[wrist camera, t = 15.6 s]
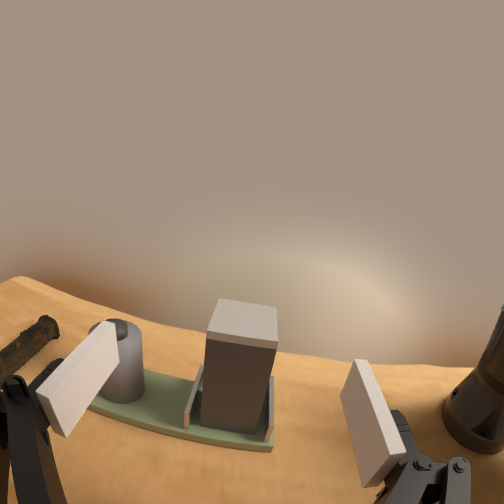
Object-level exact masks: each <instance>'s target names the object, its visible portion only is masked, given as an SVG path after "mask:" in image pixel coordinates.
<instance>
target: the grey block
mask: <svg viewBox="0 0 504 504" xmlns="http://www.w3.org/2000/svg"><path fill="white" fill-rule="evenodd" d="M277 346H278V325H277V310H276V307H273V306H266V305H259V304H253V303H246V302H240V301H234V300H227V299H221V298H219V300H218V303H217V305H216V308H215V311H214V313H213V316H212V319H211V322H210V324H209V327H208V329H207V336H206V347H205V359H204V372H203V385H202V399H201V415H200V427H206V428H211V429H217V430H223V431H229V432H236V433H243V434H251V435H255V433H256V429H257V426H258V422H259V418H260V414H261V411H262V407H263V403H264V399H265V395H266V391H267V387H268V383H269V379H270V375H271V371H272V367H273V363H274V358H275V354H276V350H277Z"/></svg>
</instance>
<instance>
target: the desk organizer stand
mask: <svg viewBox="0 0 504 504" xmlns="http://www.w3.org/2000/svg"><path fill="white" fill-rule="evenodd" d="M105 321H108V322H112V323H115V329H116V338H117V346H118V354H119V361H120V362H119V364H118V365H117V366H116V368H115V369H114V371H113V372H112V373H111V375H110V376H109V378H108V379H107V380H106V382H105V383H104V385H103V386H102V387H101V389H100V390H99V392H98V393H97V395H96V396H95V397H94V399H93V400H92V402H91V403H90V405H89V406H88V408H87V409H89V410H92V411H94V412H97V413H99V414H102V415H105V416H107V417H110V418H113V419H116V420H119V421H121V422H124V423H127V424H131V425H134V426H137V427H140V428H143V429H147V430H150V431H154V432H158V433H161V434H165V435H169V436H173V437H177V438H181V439H186V440H190V441H195V442H200V443H205V444H211V445H216V446H222V447H229V448H236V449H243V450H252V451H261V452H271V451H272V448H273V431H272V434H271V437H270V440H269V443H266V442H264V421H265V399H264V403H263V407H262V411H261V414H260V418H259V422H258V426H257V429H256V433H255V435H251V434H243V433H236V432H229V431H223V430H217V429H211V428H206V427H200V415H201V399H202V388H201V392H200V395H199V398H198V402H197V405H196V408H195V412H194V415H193V418H192V422H191V425H190V429H189V430H184V412H185V409H186V406H187V403H188V400H189V397H190V394H191V391H192V388H193V385H194V382H195V381H191V380H186V379H182V378H177V377H173V376H169V375H164V374H160V373H156V372H152V371H149V370H145V369H143V355H142V334H141V330H140V329H139V328H138V327H137V326H136V325H135V324H133V323H131V322H128V321H124V320H121V319H107V320H105ZM100 323H101V322H99V323H97V324H95V325H94V326H92V327H91V329H90V330H89V334H90V333H91V332H92V331H93V330H94V329H95V328H96V327H97V326H98V325H99V324H100Z"/></svg>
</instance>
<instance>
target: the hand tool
mask: <svg viewBox="0 0 504 504" xmlns="http://www.w3.org/2000/svg"><path fill="white" fill-rule="evenodd" d="M59 336H60V334H59V328H58V325H57V322H56V321H55V320H54V319H53V318H51V317H49V316H48V315H43V316H41V317H40V318H39V320H38V322H37V323H36V324H34V325H32V326H31V327H30V328H28V329H27V330H24V331H23V332H21V333H20V336H19V337H18V338H16V339H15V340H14V341H13V342H12V343H10V344H9V345H8V346H7V347H5V348H4V349H2V350H1V351H0V390H1V389H2V387H1V382H2V381H3V379H4V378H6V377H8V376H10V375H12V374H13V373H14V372H15V371H16V370H18V369H19V368H20V367H21V366H22V365H24V364H26V362H27V361H28V360H29V359H30V358H31V357H32V356H33V355H34V354H35V353H37V352H38V351H39V350H40V349H41V348H43V346H45V345H46V344H47V343H48V342H49V341H50V340H51V339H53V338H55V339H58V338H59Z"/></svg>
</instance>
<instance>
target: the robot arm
mask: <svg viewBox="0 0 504 504" xmlns="http://www.w3.org/2000/svg"><path fill="white" fill-rule="evenodd" d="M501 310H502V311H501V314H500V317H499V319H498V322H497V324H496V326H495V329H494V331H493V334H492V336H491V338H490V340H489V342H488V344H487V346H486V349H485V351H484V353H483V355H482V357H481V359H480V361H479V363H478V365H477V366H476V368H475V369H474V370H473V371H472V372H471V373H470V374H469V375H468V376H467V377H466V378H465V379H464V380H463V381H462V382H461V383H460V384H459V385H458V386H457V387H456V388H455V389H454V390H453V391H452V392H451V394H450V395H449V397H448V399H447V400H446V402H445V404H444V406H443V419H444V422H445V424H446V427H447V428H448V430H449V432H450V433H451V434H452V435H453V437H454V438H455V439H456V440H457V441H459V442H460V443H461V444H462V445H464V446H465V447H467V448H469V449H471V450H473V451H476V452H479V453H486V454H490V453H496V452H499V451H501V450H503V449H504V304H503V305H502V307H501ZM119 362H120V361H119V354H118V346H117V338H116V329H115V323H112V322H108V321H104V320H103V321H102V322H101V323H100V324H99V325H98V326H97V327H96V328H95V329H94V330H93V331H92V332H91V333H90V334H89V335H88V336H87V337H86V338H85V339H84V340H83V341H82V342H81V343H80V344H79V345H78V346H77V347H76V348H75V349H74V351H73V352H72V353H71V354H70V355H69V356H68V357H67V358H66V359H65V360H64V359H62V358H58V359H56V360H54V361H52V362H51V363H50V364H49V365H48V366H47V367H46V369H44V370H43V371H42V372H41V373H40V374H39V375H38V376H37V377H36V378H35V379H34V380H33V381H32V382H31V383H30V384H29V386H28V387H27V385H26V382H25V380H24V379H23V378H22V377H21V376H18V375H10V376H8V377H6V378H4V379H3V381H2V382H1V387H2V390H3V392H1V391H0V504H7V494H8V478H9V468H10V460H11V467H12V474H13V480H14V485H15V490H16V495H17V500H18V504H67V501H66V498H65V495H64V492H63V489H62V485H61V482H60V479H59V475H58V472H57V468H56V464H55V460H54V456H53V452H52V447H51V443H50V438H49V433H48V431H47V428H48V427H49V425H51V427H52V429H53V431H54V432H55V433H57V434H59V435H61V436H63V437H65V438H67V437H68V436H69V434H70V433H71V431H72V430H73V428H74V427H75V425H76V424H77V422H78V421H79V419H80V418H81V416H82V415H83V413H84V412H85V410H86V409H87V408H88V406H89V405H90V403H91V402H92V400H93V399H94V397H95V396H96V395H97V393H98V392H99V390H100V389H101V387H102V386H103V385H104V383H105V382H106V380H107V379H108V378H109V376H110V375H111V373H112V372H113V371H114V369H115V368H116V366H117V365H118V364H119ZM340 398H341V401H342V405H343V409H344V413H345V416H346V420H347V424H348V428H349V432H350V436H351V440H352V444H353V448H354V452H355V456H356V460H357V465H358V469H359V473H360V478H361V482H362V487H363V488H367V487H374V486H378V485H379V484H380V483H381V482H382V481H383V480H384V482H385V485H386V486H385V487H384V488H383V489H382V490H381V491H380V492H379V493H378V494H377V495H376V497H377V499H376V500H375V502H374V503H373V504H470V497H471V466H470V463H469V462H468V460H467V459H465V458H464V457H460V456H456V457H454V458H452V459H451V460H450V461H449V462H448V463H438V462H433V461H432V459H431V458H430V457H429V456H427V455H425V454H421V453H420V450H419V448H418V446H417V443H416V441H415V439H414V437H413V434H412V432H410V428H409V426H408V423H407V421H406V419H405V417H404V415H403V414H402V413H401V412H400V411H399V410H389V408H388V406H387V403H386V401H385V399H384V396H383V394H382V392H381V390H380V387H379V385H378V383H377V381H376V378H375V376H374V374H373V372H372V370H371V367H370V365H369V363H368V361H367V360H362V359H355V360H354V361H353V364H352V367H351V369H350V372H349V374H348V377H347V380H346V382H345V385H344V387H343V390H342V392H341V394H340Z"/></svg>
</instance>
